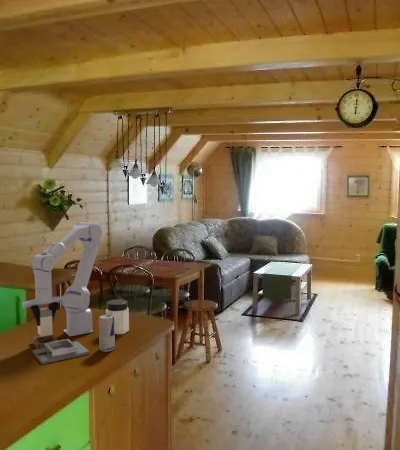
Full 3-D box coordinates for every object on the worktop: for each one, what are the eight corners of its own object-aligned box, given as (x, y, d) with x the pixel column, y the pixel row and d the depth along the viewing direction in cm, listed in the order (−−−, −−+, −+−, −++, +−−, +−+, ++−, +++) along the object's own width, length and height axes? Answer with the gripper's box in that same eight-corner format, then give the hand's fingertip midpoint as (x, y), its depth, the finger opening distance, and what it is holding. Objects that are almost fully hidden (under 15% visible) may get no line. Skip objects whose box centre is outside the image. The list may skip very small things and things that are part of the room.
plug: (48, 330, 173) (47, 307, 172) (52, 334, 169) (51, 310, 168) (37, 332, 171) (36, 309, 170) (41, 336, 167) (40, 312, 166)
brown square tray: (52, 339, 176) (51, 334, 176) (58, 345, 169) (58, 340, 169) (32, 343, 172) (32, 337, 172) (38, 349, 165) (38, 344, 165)
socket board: (77, 343, 171) (77, 336, 171) (89, 354, 161) (88, 345, 161) (32, 352, 162) (32, 344, 162) (42, 364, 152) (41, 355, 152)
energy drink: (117, 347, 167) (116, 315, 166) (109, 352, 162) (109, 319, 161) (104, 345, 169) (103, 313, 168) (96, 350, 164) (95, 317, 163)
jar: (106, 335, 180) (105, 305, 179) (105, 329, 188) (105, 299, 187) (129, 333, 182) (129, 303, 181) (128, 327, 190) (127, 298, 189)
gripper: (60, 282, 176) (61, 318, 177) (19, 288, 168) (21, 324, 169) (65, 286, 170) (67, 322, 171) (24, 292, 162) (26, 329, 163)
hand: (44, 324), depth 170 cm, fingers closed on plug, 4 cm apart
